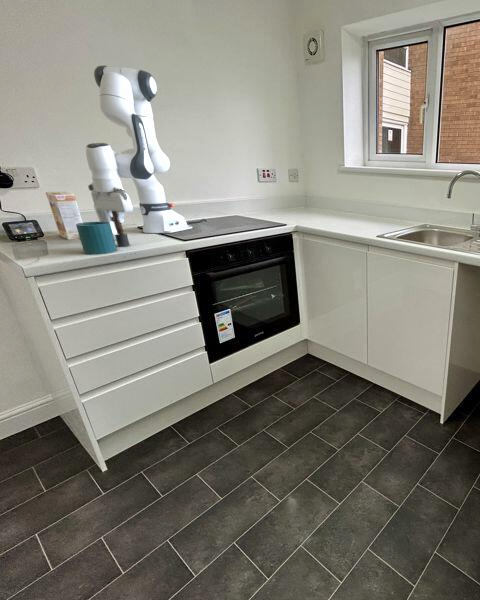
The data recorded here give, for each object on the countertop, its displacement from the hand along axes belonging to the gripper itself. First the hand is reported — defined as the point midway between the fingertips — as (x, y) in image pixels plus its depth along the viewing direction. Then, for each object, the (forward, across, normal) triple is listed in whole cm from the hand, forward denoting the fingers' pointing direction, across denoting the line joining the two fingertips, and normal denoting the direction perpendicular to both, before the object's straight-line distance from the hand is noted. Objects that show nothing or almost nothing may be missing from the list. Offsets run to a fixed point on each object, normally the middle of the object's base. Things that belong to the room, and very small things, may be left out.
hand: (117, 221), depth 145 cm
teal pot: (+10, -3, +10) cm, 15 cm away
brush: (+10, 0, 0) cm, 10 cm away
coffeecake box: (+10, +37, +1) cm, 38 cm away
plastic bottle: (+10, +16, -4) cm, 19 cm away
